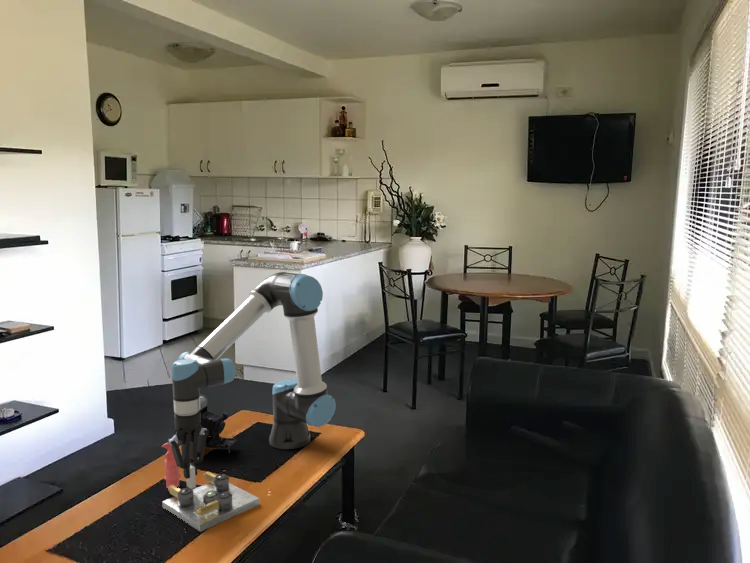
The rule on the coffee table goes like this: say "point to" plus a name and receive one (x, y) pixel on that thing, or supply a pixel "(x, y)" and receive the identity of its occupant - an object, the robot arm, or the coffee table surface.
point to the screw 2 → (218, 481)
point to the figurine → (171, 468)
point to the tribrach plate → (206, 495)
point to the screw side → (217, 504)
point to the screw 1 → (182, 495)
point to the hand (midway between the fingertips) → (191, 486)
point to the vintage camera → (214, 427)
